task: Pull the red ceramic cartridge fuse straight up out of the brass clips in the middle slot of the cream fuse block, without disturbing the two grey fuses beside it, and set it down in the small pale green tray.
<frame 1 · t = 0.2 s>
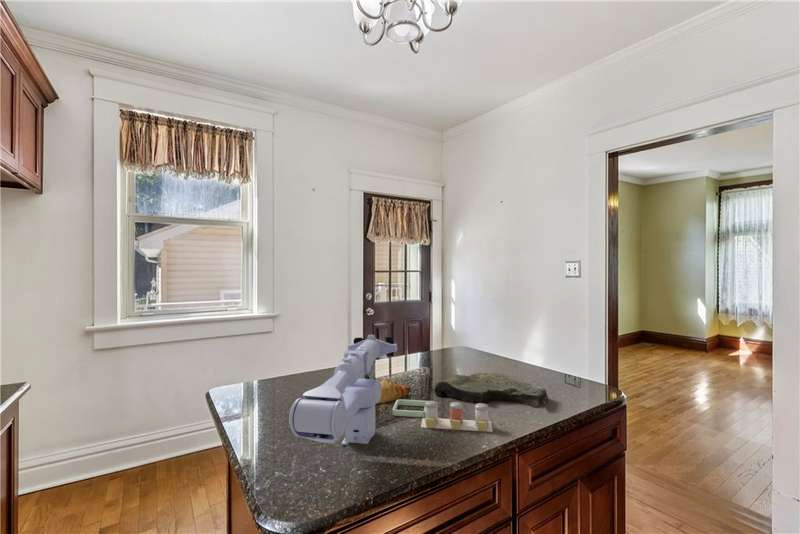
hand: (379, 341, 120), 22 cm above the counter, tool horizontal, fingers open, 7 cm apart
fuse block: (456, 427, 106), on the counter
tray: (410, 413, 116), on the counter
croissant: (382, 401, 128), on the counter
grey fuse b: (431, 422, 107), point 1 cm above the counter, touching fuse block
red fuse: (456, 424, 106), point 1 cm above the counter, touching fuse block
grey fuse a: (481, 425, 105), point 1 cm above the counter, touching fuse block
stone: (488, 398, 130), on the counter
toy: (366, 382, 147), on the counter
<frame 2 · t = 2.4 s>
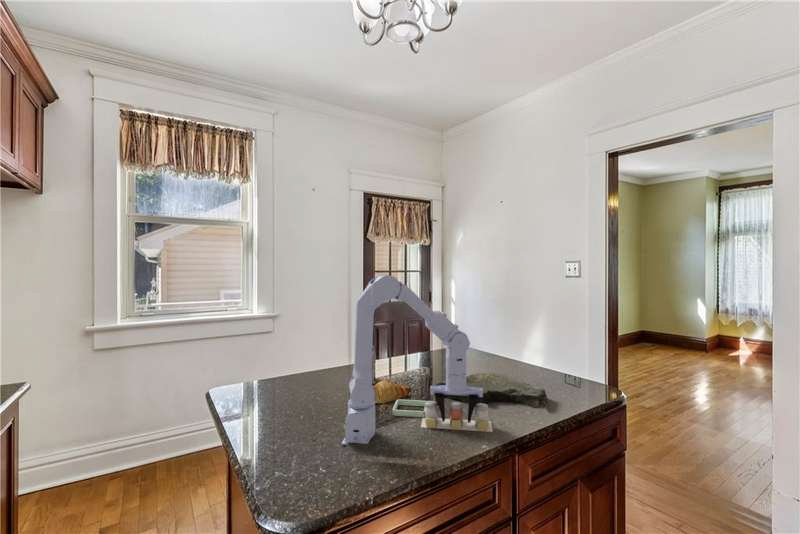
hand: (456, 420, 106), 2 cm above the counter, tool pointing down, fingers open, 6 cm apart
grey fuse a: (481, 425, 105), point 1 cm above the counter, touching fuse block, gripper
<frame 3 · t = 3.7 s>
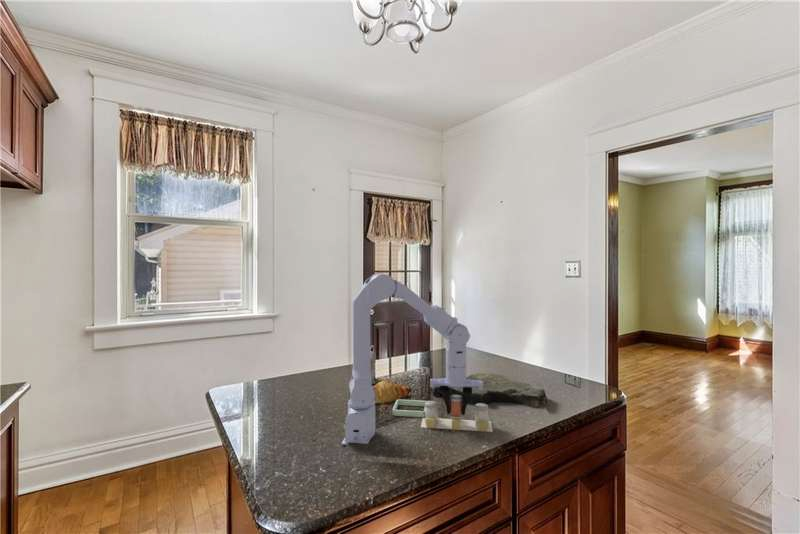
hand: (456, 413, 106), 4 cm above the counter, tool pointing down, fingers closed on red fuse, 3 cm apart
red fuse: (456, 416, 106), point 3 cm above the counter, touching gripper
grey fuse a: (481, 425, 105), point 1 cm above the counter, touching fuse block
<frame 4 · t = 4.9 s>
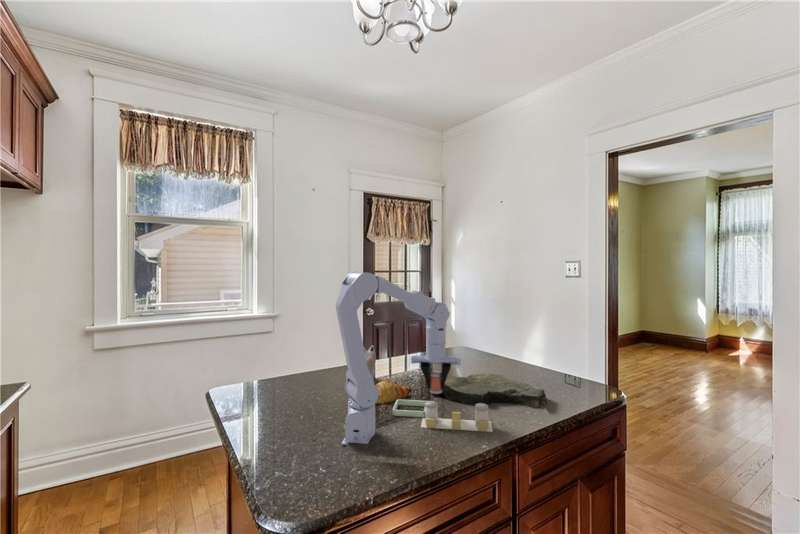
hand: (435, 388, 112), 9 cm above the counter, tool pointing down, fingers closed on red fuse, 3 cm apart
red fuse: (435, 391, 112), point 8 cm above the counter, touching gripper
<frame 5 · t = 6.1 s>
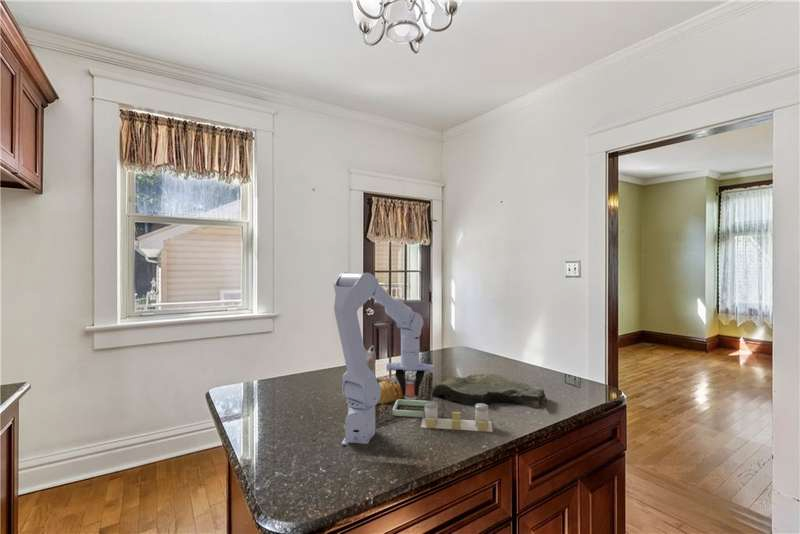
hand: (410, 394, 116), 6 cm above the counter, tool pointing down, fingers closed on red fuse, 3 cm apart
red fuse: (410, 397, 116), point 5 cm above the counter, touching gripper
when the fingers open (3 cm above the counter, at t = 7.0 s): red fuse drops 1 cm, resting on tray.
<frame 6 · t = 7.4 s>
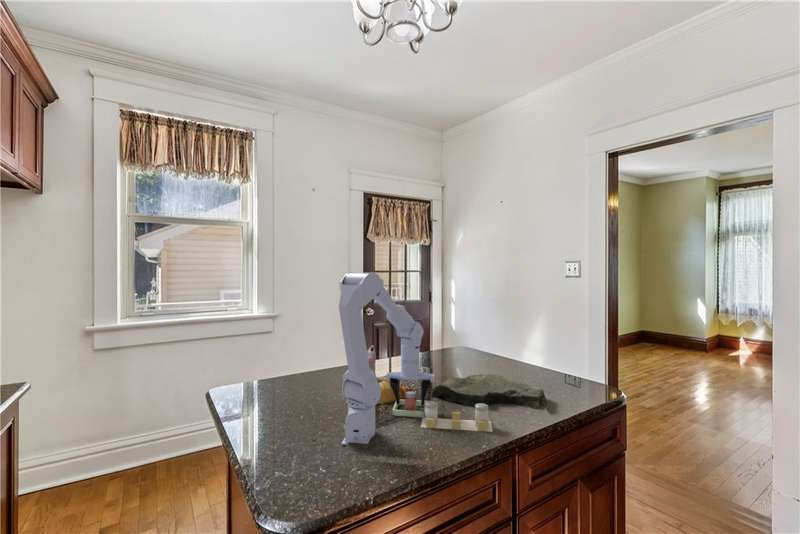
hand: (410, 403, 116), 3 cm above the counter, tool pointing down, fingers open, 7 cm apart
red fuse: (410, 411, 116), point 1 cm above the counter, touching tray
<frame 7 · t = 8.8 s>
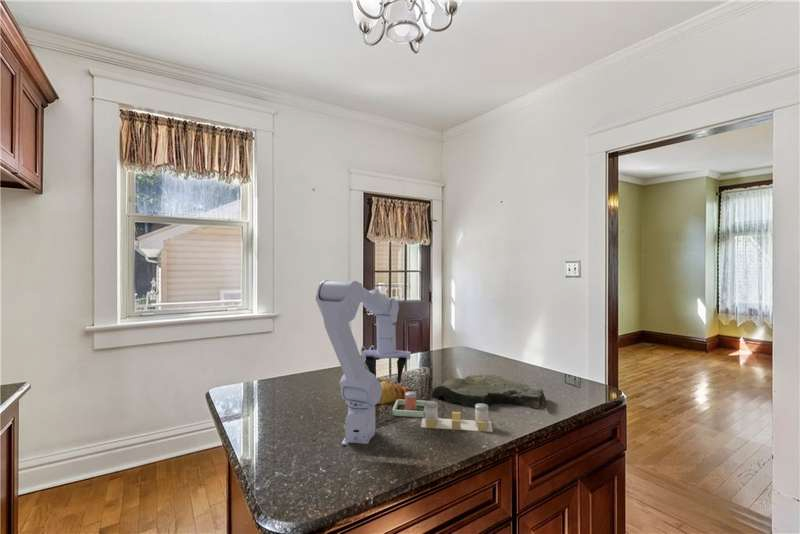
hand: (386, 381, 115), 10 cm above the counter, tool pointing down, fingers open, 7 cm apart
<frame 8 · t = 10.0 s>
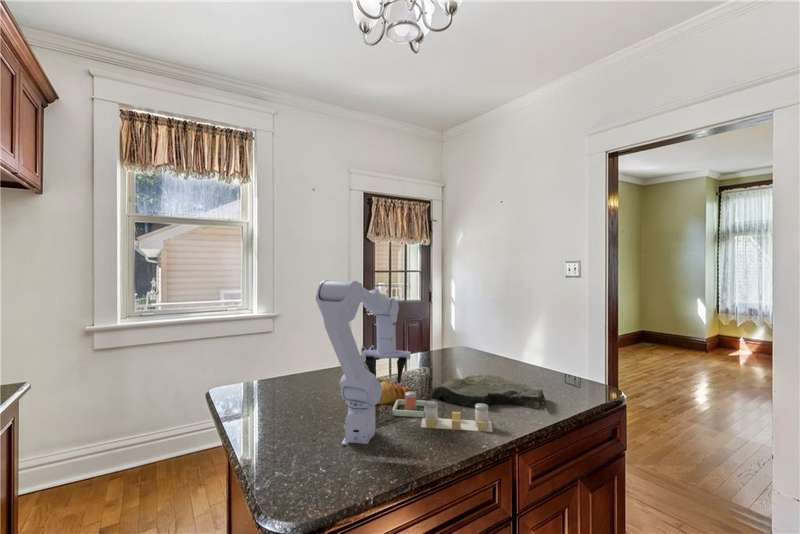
hand: (386, 381, 115), 10 cm above the counter, tool pointing down, fingers open, 7 cm apart
at the end: red fuse inside the target area on the tray (0.0 cm from its centre), point 0.6 cm above the tray's base; grey fuse a moved 0.1 cm from its start; grey fuse b moved 0.1 cm from its start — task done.
